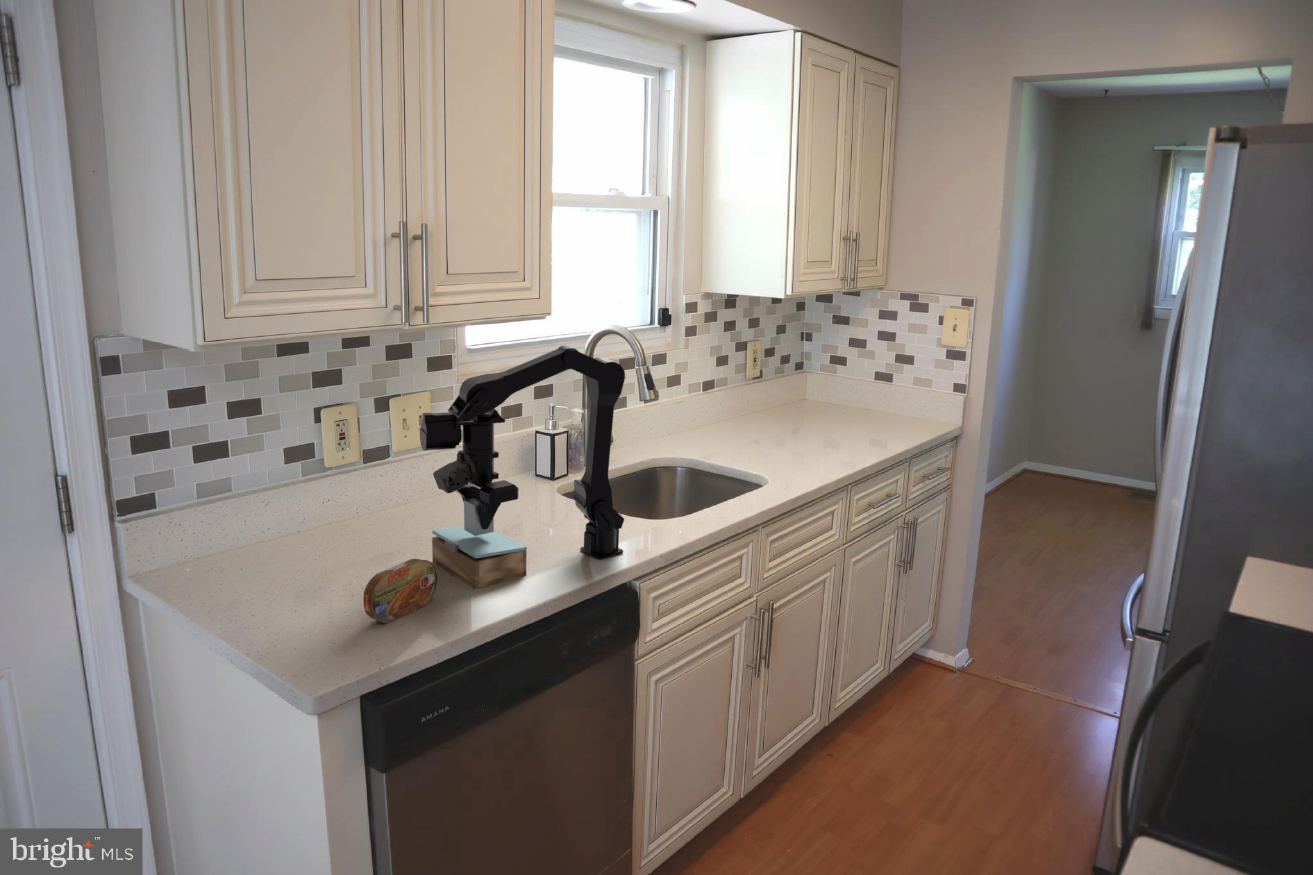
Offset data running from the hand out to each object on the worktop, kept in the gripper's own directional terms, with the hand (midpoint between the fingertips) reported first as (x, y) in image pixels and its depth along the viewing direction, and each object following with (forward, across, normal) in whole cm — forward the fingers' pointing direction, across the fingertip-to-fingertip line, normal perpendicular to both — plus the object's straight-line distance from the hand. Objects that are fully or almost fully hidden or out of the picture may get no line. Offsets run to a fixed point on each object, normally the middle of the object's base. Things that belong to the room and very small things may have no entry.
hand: (479, 525), depth 174 cm
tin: (+9, +9, -21) cm, 24 cm away
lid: (+4, 0, 0) cm, 4 cm away
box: (+9, 0, 0) cm, 9 cm away
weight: (+1, 0, 0) cm, 1 cm away
